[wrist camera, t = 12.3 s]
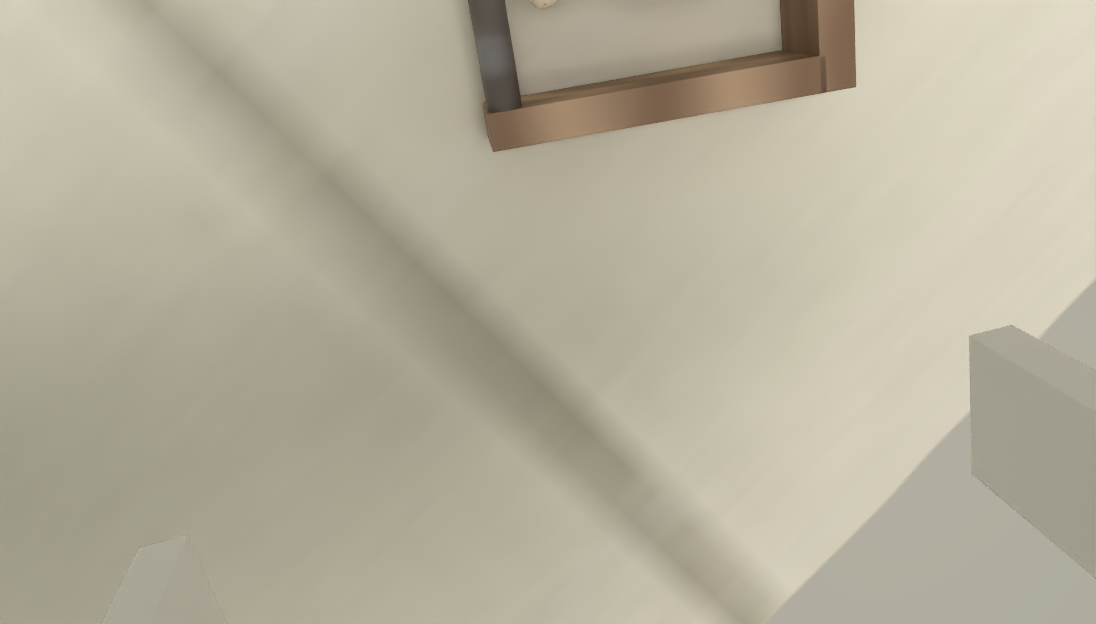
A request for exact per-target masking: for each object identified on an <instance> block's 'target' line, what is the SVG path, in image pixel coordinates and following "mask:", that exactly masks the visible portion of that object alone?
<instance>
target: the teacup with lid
mask: <svg viewBox="0 0 1096 624" xmlns="http://www.w3.org/2000/svg"><path fill="white" fill-rule="evenodd" d="M528 1H529V2H530V3H531V4H532V5H533V6H534V7H536V8H538V9H545V8H548V7H550V6H552V5H553V4H554V3H556V2H557V1H558V0H528Z"/></svg>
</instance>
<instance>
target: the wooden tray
mask: <svg viewBox="0 0 1096 624" xmlns="http://www.w3.org/2000/svg"><path fill="white" fill-rule="evenodd" d="M468 3H469V9H470V14H471V20H472V25H473V31H474V36H475V42H476V48H477V53H478V59H479V64H480V70H481V75H482V81H483V87H484V92H485V98H486V102H485V103H482V106H483V112H484V117H485V123H486V128H487V134H488V138H489V141H490V144H491V147H492V150H493V152H496V151H501V150H507V149H512V148H518V147H524V146H529V145H535V144H540V143H546V142H552V141H557V140H563V139H568V138H574V137H579V136H585V135H591V134H596V133H602V132H607V131H613V130H619V129H624V128H630V127H635V126H641V125H646V124H652V123H658V122H663V121H669V120H674V119H680V118H686V117H691V116H697V115H702V114H708V113H714V112H719V111H725V110H730V109H736V108H741V107H747V106H753V105H758V104H764V103H769V102H775V101H781V100H786V99H792V98H797V97H803V96H808V95H814V94H820V93H825V92H831V91H836V90H842V89H848V88H853V87H856V63H855V21H854V0H780V9H781V27H782V46H783V50H781V51H775V52H770V53H764V54H758V55H753V56H747V57H741V58H736V59H730V60H724V61H719V62H713V63H707V64H701V65H696V66H690V67H684V68H679V69H673V70H667V71H662V72H656V73H650V74H645V75H639V76H633V77H627V78H622V79H616V80H610V81H605V82H599V83H593V84H588V85H582V86H576V87H571V88H565V89H559V90H553V91H548V92H542V93H536V94H531V95H525V96H520V91H519V85H518V79H517V73H516V66H515V60H514V54H513V48H512V42H511V36H510V30H509V24H508V18H507V12H506V6H505V0H468Z"/></svg>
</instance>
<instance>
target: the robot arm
mask: <svg viewBox="0 0 1096 624" xmlns="http://www.w3.org/2000/svg"><path fill="white" fill-rule="evenodd" d="M969 350H970V410H971V469H972V475H973V476H975V477H976V478H977V479H978V480H979V481H981V482H982V483H983V484H984V485H985V486H986V487H988V488H989V489H990V490H991V491H992V492H994V493H995V494H996V495H997V496H998V497H999V498H1001V499H1002V500H1003V501H1004V502H1005V503H1007V504H1008V505H1009V506H1010V507H1012V509H1014V510H1015V511H1016V512H1017V513H1018V514H1020V515H1021V516H1022V517H1023V518H1024V519H1026V520H1027V521H1028V522H1029V523H1030V524H1032V525H1033V526H1034V527H1035V528H1036V529H1037V530H1039V531H1040V532H1041V533H1042V534H1043V535H1044V536H1046V537H1047V538H1048V539H1049V540H1050V541H1052V542H1053V543H1054V544H1055V545H1056V546H1058V547H1059V548H1060V549H1061V550H1062V551H1063V552H1065V553H1066V554H1067V555H1068V556H1069V557H1071V558H1072V559H1073V560H1074V561H1075V562H1076V563H1078V564H1079V565H1080V566H1081V567H1082V568H1084V569H1085V570H1086V571H1087V572H1088V573H1090V574H1091V575H1092V576H1093V577H1094V578H1095V579H1096V370H1094V369H1093V368H1091V367H1089V366H1087V365H1085V364H1083V363H1081V362H1080V361H1078V360H1076V359H1074V358H1072V357H1070V356H1068V355H1067V354H1065V353H1063V352H1061V351H1059V350H1057V349H1055V348H1054V347H1052V346H1050V345H1048V344H1046V343H1044V342H1042V341H1041V340H1039V339H1037V338H1035V337H1033V336H1031V335H1029V334H1028V333H1026V332H1024V331H1022V330H1020V329H1018V328H1016V327H1015V326H1013V325H1010V326H1006V327H1002V328H998V329H994V330H990V331H986V332H982V333H978V334H974V335H970V336H969ZM101 624H226V622H225V619H224V617H223V615H222V612H221V610H220V608H219V605H218V603H217V601H216V598H215V596H214V594H213V591H212V589H211V587H210V584H209V582H208V580H207V577H206V575H205V573H204V570H203V568H202V566H201V563H200V561H199V559H198V556H197V554H196V552H195V550H194V547H193V545H192V543H191V540H190V538H189V536H188V535H185V536H181V537H177V538H173V539H170V540H166V541H162V542H158V543H154V544H150V545H146V546H142V547H139V549H138V551H137V553H136V555H135V557H134V559H133V561H132V563H131V565H130V567H129V569H128V571H127V573H126V575H125V577H124V579H123V581H122V583H121V585H120V587H119V589H118V591H117V593H116V595H115V597H114V599H113V601H112V603H111V605H110V607H109V609H108V611H107V613H106V615H105V617H104V619H103V621H102V623H101Z"/></svg>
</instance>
